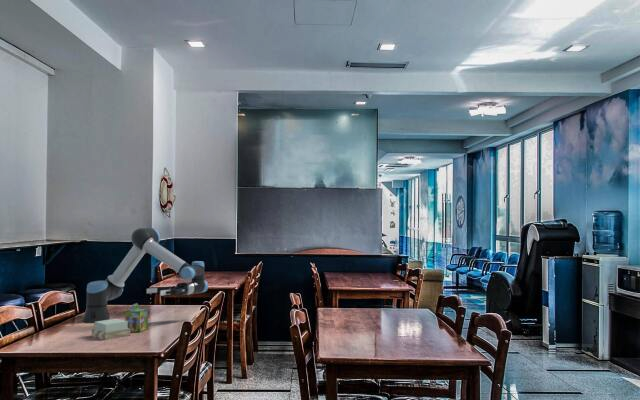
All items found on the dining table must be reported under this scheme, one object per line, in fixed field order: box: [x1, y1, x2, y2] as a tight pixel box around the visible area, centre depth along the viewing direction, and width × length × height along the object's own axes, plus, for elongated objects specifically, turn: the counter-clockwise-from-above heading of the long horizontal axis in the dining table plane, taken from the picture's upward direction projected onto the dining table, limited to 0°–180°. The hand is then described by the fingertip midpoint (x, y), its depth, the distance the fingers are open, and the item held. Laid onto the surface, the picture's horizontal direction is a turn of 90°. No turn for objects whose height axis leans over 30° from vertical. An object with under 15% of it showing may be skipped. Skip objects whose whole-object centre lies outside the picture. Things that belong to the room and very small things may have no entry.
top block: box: [94, 318, 128, 332], centre depth 280 cm, size 12×12×4 cm
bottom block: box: [91, 328, 131, 341], centre depth 280 cm, size 14×14×4 cm
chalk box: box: [124, 302, 149, 333], centre depth 294 cm, size 9×9×15 cm
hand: (153, 292), depth 302 cm, fingers open, 13 cm apart
